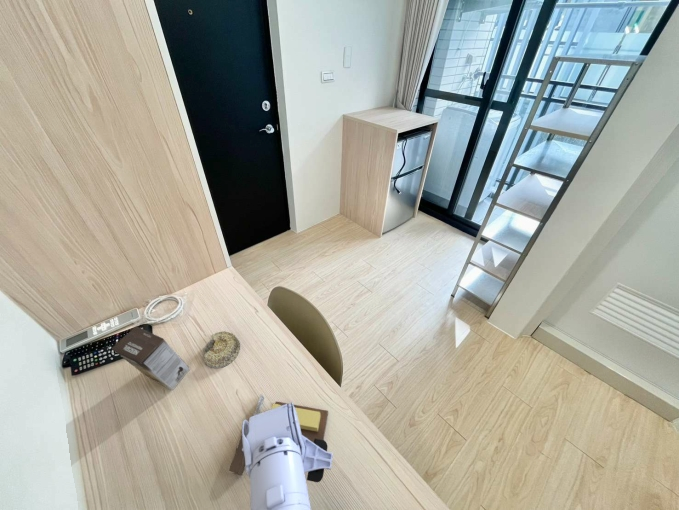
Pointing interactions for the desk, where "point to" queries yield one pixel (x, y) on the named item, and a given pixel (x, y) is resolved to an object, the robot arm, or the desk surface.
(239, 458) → the knife
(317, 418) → the butter
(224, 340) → the ammonite fossil
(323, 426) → the butter board
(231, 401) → the desk surface
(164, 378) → the coffee box
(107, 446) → the desk surface
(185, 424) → the desk surface
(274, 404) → the butter pat
